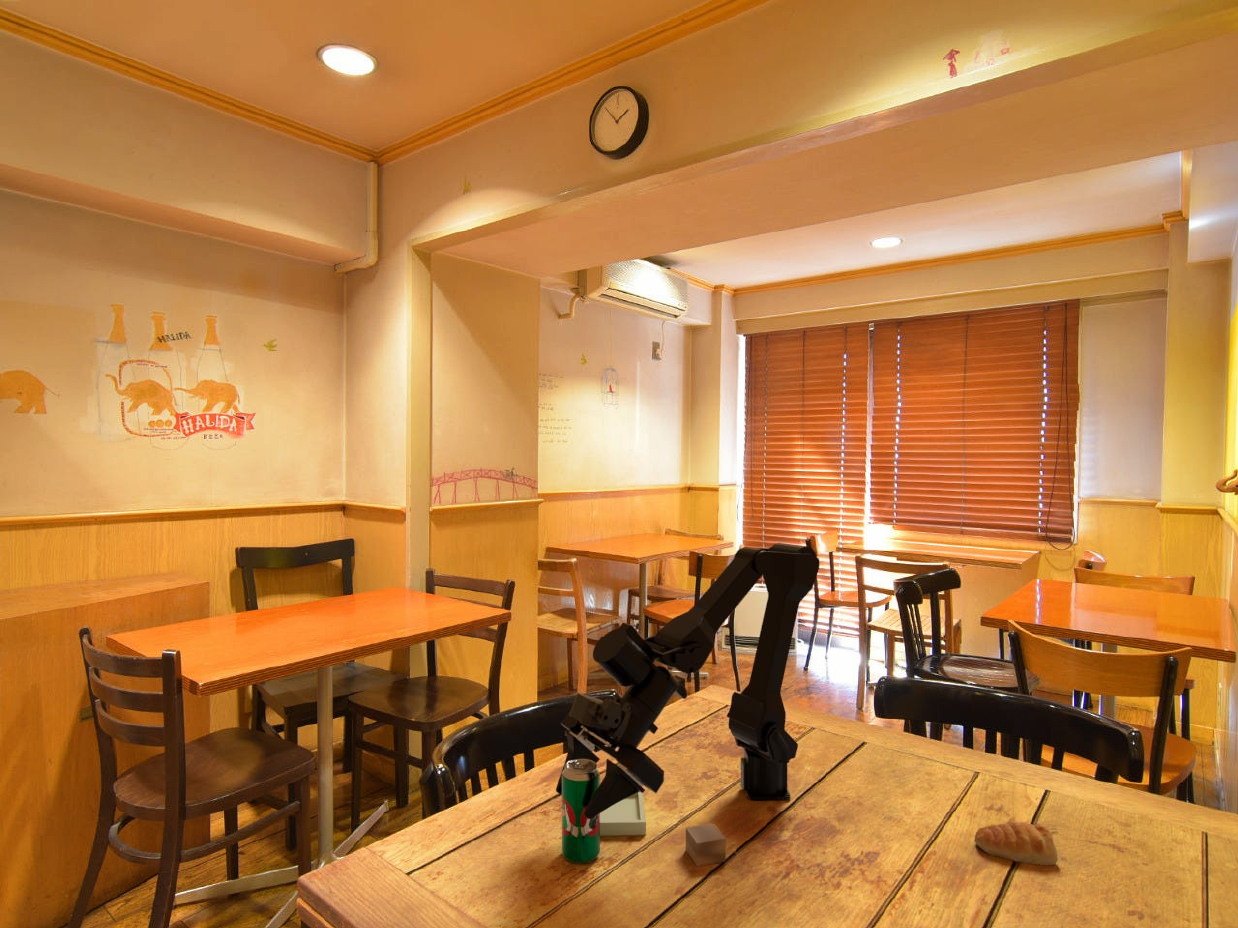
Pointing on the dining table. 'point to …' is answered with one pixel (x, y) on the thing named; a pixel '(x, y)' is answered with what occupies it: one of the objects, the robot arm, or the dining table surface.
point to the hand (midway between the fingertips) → (571, 804)
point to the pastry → (1018, 842)
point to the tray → (624, 817)
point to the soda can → (579, 811)
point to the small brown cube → (705, 844)
